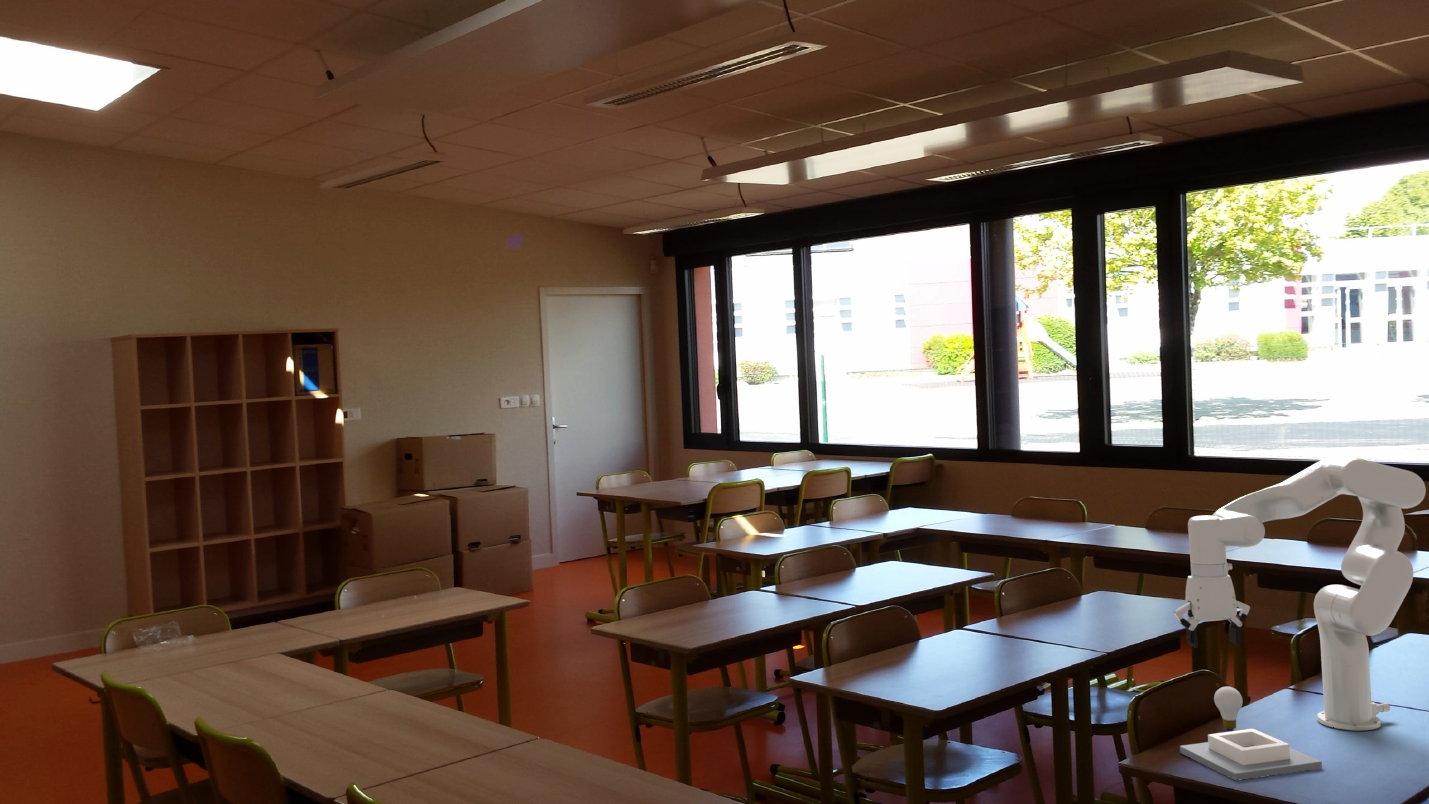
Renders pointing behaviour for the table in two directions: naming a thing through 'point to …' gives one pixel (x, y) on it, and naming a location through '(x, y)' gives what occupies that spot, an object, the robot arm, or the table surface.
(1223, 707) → the light bulb
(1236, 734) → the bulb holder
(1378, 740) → the table surface
